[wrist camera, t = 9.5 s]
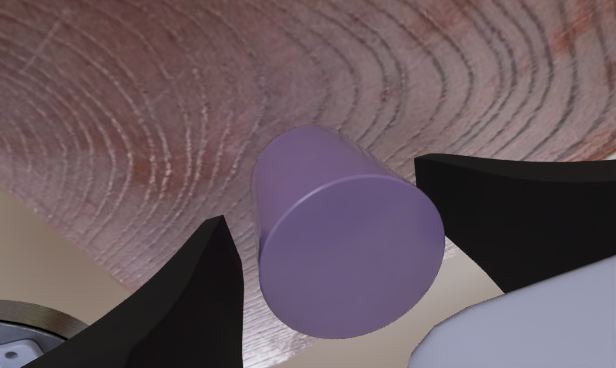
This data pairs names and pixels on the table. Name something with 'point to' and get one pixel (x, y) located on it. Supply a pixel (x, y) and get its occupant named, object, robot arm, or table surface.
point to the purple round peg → (340, 235)
